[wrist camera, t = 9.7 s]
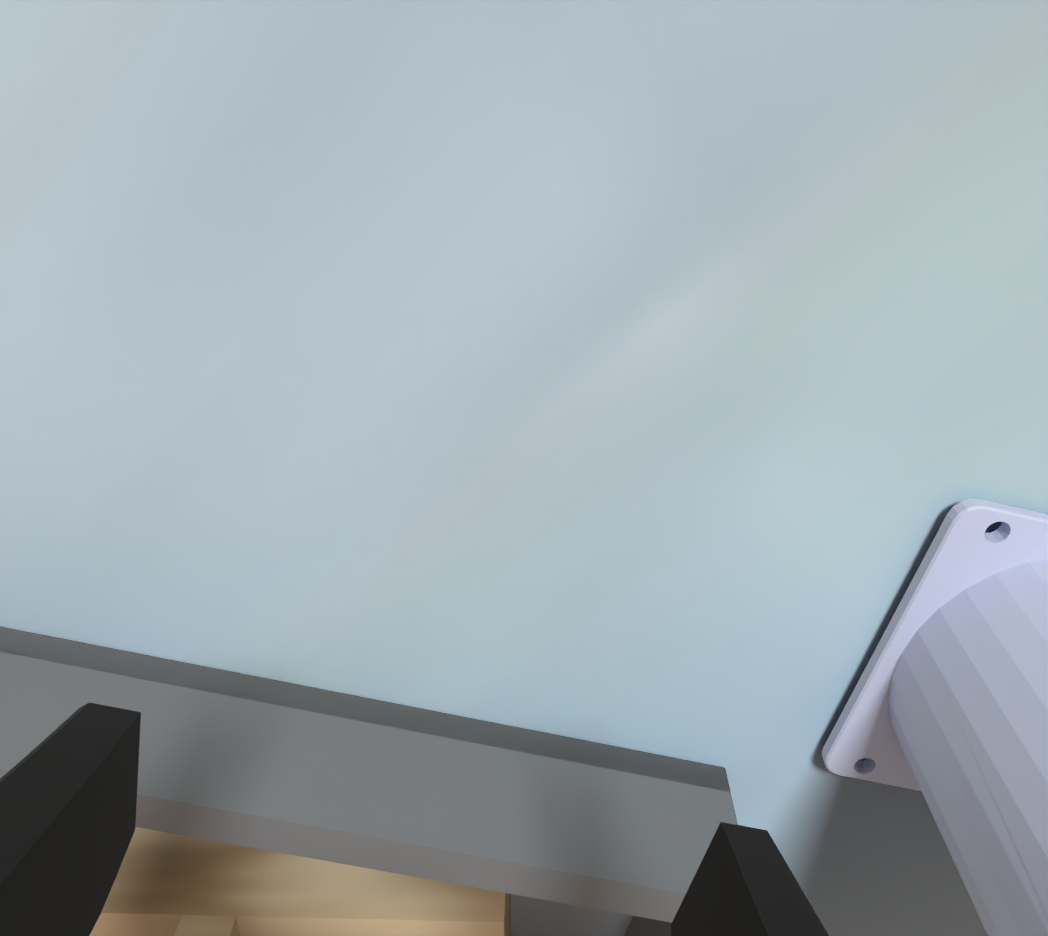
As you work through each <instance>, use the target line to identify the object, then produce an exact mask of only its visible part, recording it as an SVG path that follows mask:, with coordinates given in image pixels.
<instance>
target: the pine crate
mask: <svg viewBox="0 0 1048 936" xmlns="http://www.w3.org/2000/svg"><path fill="white" fill-rule="evenodd" d="M89 936H511V894H509V893H503V892H497V891H492V890H486V889H481V888H475V887H469V886H464V885H458V884H453V883H447V882H441V881H436V880H430V879H425V878H419V877H413V876H408V875H402V874H397V873H391V872H385V871H380V870H374V869H368V868H363V867H357V866H352V865H346V864H340V863H335V862H329V861H324V860H318V859H312V858H307V857H301V856H296V855H290V854H284V853H279V852H273V851H268V850H262V849H256V848H251V847H245V846H240V845H234V844H228V843H223V842H217V841H212V840H206V839H200V838H195V837H189V836H183V835H178V834H172V833H167V832H161V831H155V830H150V829H144V828H139V827H135V831H134V834H133V836H132V839H131V841H130V844H129V846H128V849H127V851H126V854H125V856H124V859H123V861H122V864H121V866H120V869H119V871H118V874H117V876H116V878H115V881H114V883H113V886H112V888H111V890H110V893H109V895H108V898H107V900H106V902H105V905H104V907H103V909H102V912H101V914H100V916H99V918H98V920H97V922H96V924H95V926H94V928H93V930H92V932H91V933H90V935H89Z"/></svg>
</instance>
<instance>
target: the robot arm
mask: <svg viewBox="0 0 1048 936" xmlns="http://www.w3.org/2000/svg"><path fill="white" fill-rule="evenodd" d="M995 522H1002V524H1001V526H1000V527H999V528H998V529H997V530H995V531H993V532H991V533H985V531H986V529H987V528H988V527H989V525H990V524H993V523H995ZM140 722H141V712H137V711H132V710H127V709H121V708H116V707H111V706H105V705H100V704H95V703H90V702H89V703H87V704H85V705H84V706H82V707H80V708H79V709H77V710H76V711H75V712H74V713H73V714H72V715H71V716H70V717H69V718H68V719H67V720H66V721H64V722H63V723H62V724H61V725H60V726H59V727H58V728H57V729H56V730H55V731H54V732H52V733H51V734H50V735H49V736H48V737H47V738H46V739H45V740H44V741H42V742H41V743H40V744H39V745H38V746H37V747H36V748H35V749H34V750H32V751H31V752H30V753H29V754H28V755H27V756H26V757H25V758H23V759H22V760H21V761H20V762H19V763H18V764H17V765H15V766H14V767H13V768H12V769H11V770H10V771H8V772H7V773H6V774H5V775H4V776H3V777H1V778H0V936H89V935H90V933H91V932H92V930H93V928H94V926H95V924H96V922H97V920H98V918H99V916H100V914H101V912H102V909H103V907H104V905H105V902H106V900H107V898H108V895H109V893H110V890H111V888H112V886H113V883H114V881H115V878H116V876H117V874H118V871H119V869H120V866H121V864H122V861H123V859H124V856H125V854H126V851H127V849H128V846H129V844H130V841H131V839H132V836H133V834H134V831H135V824H136V804H137V784H138V763H139V743H140ZM822 757H823V760H824V763H825V766H826V768H827V769H828V770H829V771H830V772H831V773H834V774H836V775H841V776H846V777H851V778H856V779H861V780H866V781H871V782H876V783H881V784H886V785H892V786H897V787H902V788H907V789H912V790H917V791H921V792H922V794H923V796H924V798H925V801H926V803H927V805H928V807H929V809H930V812H931V814H932V816H933V818H934V820H935V822H936V825H937V827H938V829H939V831H940V833H941V835H942V838H943V840H944V842H945V844H946V846H947V848H948V851H949V853H950V855H951V857H952V859H953V861H954V864H955V866H956V868H957V870H958V872H959V874H960V877H961V879H962V881H963V883H964V885H965V887H966V890H967V892H968V894H969V896H970V898H971V900H972V903H973V905H974V907H975V909H976V911H977V914H978V916H979V918H980V920H981V922H982V924H983V927H984V929H985V931H986V933H987V935H988V936H1048V514H1043V513H1039V512H1034V511H1030V510H1026V509H1021V508H1017V507H1012V506H1008V505H1004V504H999V503H995V502H990V501H986V500H982V499H968V500H964V501H961V502H959V503H958V504H956V505H955V506H953V507H952V508H951V510H950V511H949V512H948V513H947V515H946V517H945V519H944V521H943V523H942V525H941V526H940V528H939V530H938V532H937V534H936V536H935V538H934V540H933V542H932V543H931V545H930V547H929V549H928V551H927V553H926V555H925V557H924V558H923V560H922V562H921V564H920V566H919V568H918V570H917V572H916V574H915V575H914V577H913V579H912V581H911V583H910V585H909V587H908V589H907V591H906V592H905V594H904V596H903V598H902V600H901V602H900V604H899V606H898V608H897V609H896V611H895V613H894V615H893V617H892V619H891V621H890V623H889V624H888V626H887V628H886V630H885V632H884V634H883V636H882V638H881V640H880V641H879V643H878V645H877V647H876V649H875V651H874V653H873V655H872V657H871V658H870V660H869V662H868V664H867V666H866V668H865V670H864V672H863V673H862V675H861V677H860V679H859V681H858V683H857V685H856V687H855V689H854V690H853V692H852V694H851V696H850V698H849V700H848V702H847V704H846V706H845V707H844V709H843V711H842V713H841V715H840V717H839V719H838V721H837V723H836V724H835V726H834V728H833V730H832V732H831V734H830V736H829V738H828V739H827V741H826V743H825V745H824V747H823V750H822ZM863 758H868V759H867V760H864V761H862V762H857V761H858V760H860V759H863ZM671 936H829V935H828V933H827V932H826V930H825V928H824V927H823V925H822V923H821V922H820V920H819V918H818V917H817V915H816V913H815V911H814V910H813V908H812V906H811V905H810V903H809V901H808V899H807V898H806V896H805V894H804V893H803V891H802V889H801V888H800V886H799V884H798V882H797V881H796V879H795V877H794V875H793V874H792V872H791V870H790V869H789V867H788V865H787V864H786V862H785V860H784V858H783V857H782V855H781V853H780V852H779V850H778V848H777V847H776V845H775V843H774V842H773V840H772V838H771V837H770V835H769V833H768V831H766V830H761V829H756V828H750V827H745V826H740V825H735V824H729V823H724V822H720V824H719V826H718V828H717V830H716V833H715V835H714V837H713V839H712V841H711V843H710V845H709V847H708V849H707V851H706V853H705V855H704V857H703V859H702V862H701V864H700V866H699V868H698V870H697V872H696V874H695V876H694V878H693V880H692V882H691V884H690V886H689V888H688V890H687V893H686V895H685V897H684V899H683V901H682V903H681V905H680V907H679V909H678V911H677V913H676V915H675V917H674V919H673V921H672V924H671Z"/></svg>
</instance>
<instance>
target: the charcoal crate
mask: <svg viewBox="0 0 1048 936" xmlns="http://www.w3.org/2000/svg"><path fill="white" fill-rule="evenodd" d="M89 702H90V703H95V704H100V705H105V706H111V707H116V708H121V709H127V710H132V711H137V712H141V722H140V743H139V763H138V784H137V804H136V824H135V827H139V828H144V829H150V830H155V831H161V832H167V833H172V834H178V835H183V836H189V837H195V838H200V839H206V840H212V841H217V842H223V843H228V844H234V845H240V846H245V847H251V848H256V849H262V850H268V851H273V852H279V853H284V854H290V855H296V856H301V857H307V858H312V859H318V860H324V861H329V862H335V863H340V864H346V865H352V866H357V867H363V868H368V869H374V870H380V871H385V872H391V873H397V874H402V875H408V876H413V877H419V878H425V879H430V880H436V881H441V882H447V883H453V884H458V885H464V886H469V887H475V888H481V889H486V890H492V891H497V892H503V893H509V894H511V936H671V924H672V921H673V919H674V917H675V915H676V913H677V911H678V909H679V907H680V905H681V903H682V901H683V899H684V897H685V895H686V893H687V890H688V888H689V886H690V884H691V882H692V880H693V878H694V876H695V874H696V872H697V870H698V868H699V866H700V864H701V862H702V859H703V857H704V855H705V853H706V851H707V849H708V847H709V845H710V843H711V841H712V839H713V837H714V835H715V833H716V830H717V828H718V826H719V824H720V822H724V823H729V824H735V825H738V824H737V819H736V815H735V810H734V806H733V802H732V797H731V793H730V788H729V784H728V779H727V775H726V770H725V768H723V767H718V766H713V765H707V764H702V763H697V762H692V761H687V760H682V759H677V758H671V757H666V756H661V755H656V754H651V753H646V752H641V751H635V750H630V749H625V748H620V747H615V746H610V745H605V744H599V743H594V742H589V741H584V740H579V739H574V738H569V737H563V736H558V735H553V734H548V733H543V732H538V731H533V730H528V729H522V728H517V727H512V726H507V725H502V724H497V723H492V722H486V721H481V720H476V719H471V718H466V717H461V716H456V715H450V714H445V713H440V712H435V711H430V710H425V709H420V708H414V707H409V706H404V705H399V704H394V703H389V702H384V701H378V700H373V699H368V698H363V697H358V696H353V695H348V694H342V693H337V692H332V691H327V690H322V689H317V688H312V687H306V686H301V685H296V684H291V683H286V682H281V681H276V680H271V679H265V678H260V677H255V676H250V675H245V674H240V673H235V672H229V671H224V670H219V669H214V668H209V667H204V666H199V665H193V664H188V663H183V662H178V661H173V660H168V659H163V658H157V657H152V656H147V655H142V654H137V653H132V652H127V651H121V650H116V649H111V648H106V647H101V646H96V645H91V644H85V643H80V642H75V641H70V640H65V639H60V638H55V637H49V636H44V635H39V634H34V633H29V632H24V631H19V630H14V629H8V628H3V627H0V778H1V777H3V776H4V775H5V774H6V773H7V772H8V771H10V770H11V769H12V768H13V767H14V766H15V765H17V764H18V763H19V762H20V761H21V760H22V759H23V758H25V757H26V756H27V755H28V754H29V753H30V752H31V751H32V750H34V749H35V748H36V747H37V746H38V745H39V744H40V743H41V742H42V741H44V740H45V739H46V738H47V737H48V736H49V735H50V734H51V733H52V732H54V731H55V730H56V729H57V728H58V727H59V726H60V725H61V724H62V723H63V722H64V721H66V720H67V719H68V718H69V717H70V716H71V715H72V714H73V713H74V712H75V711H76V710H77V709H79V708H80V707H82V706H84V705H85V704H87V703H89Z"/></svg>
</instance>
